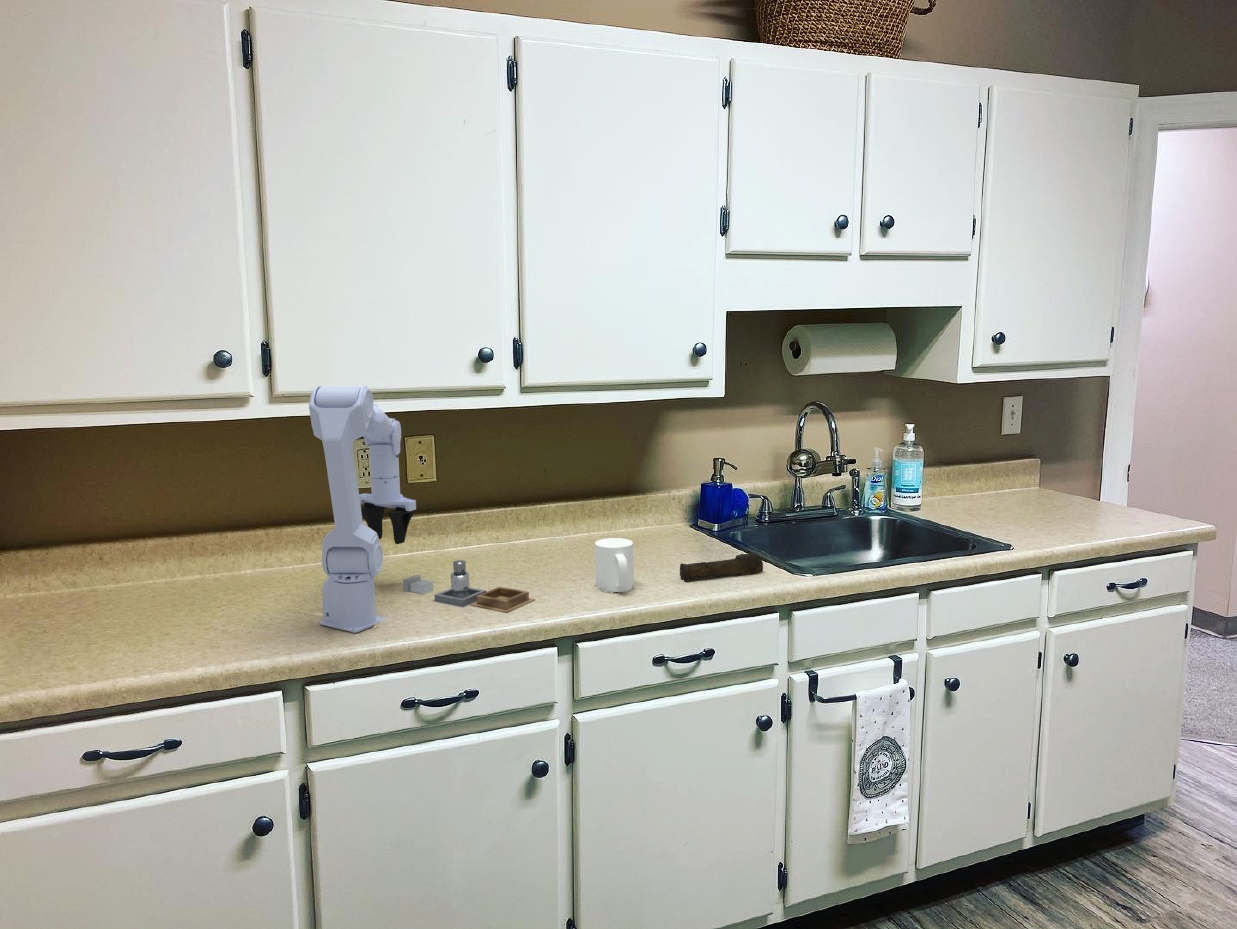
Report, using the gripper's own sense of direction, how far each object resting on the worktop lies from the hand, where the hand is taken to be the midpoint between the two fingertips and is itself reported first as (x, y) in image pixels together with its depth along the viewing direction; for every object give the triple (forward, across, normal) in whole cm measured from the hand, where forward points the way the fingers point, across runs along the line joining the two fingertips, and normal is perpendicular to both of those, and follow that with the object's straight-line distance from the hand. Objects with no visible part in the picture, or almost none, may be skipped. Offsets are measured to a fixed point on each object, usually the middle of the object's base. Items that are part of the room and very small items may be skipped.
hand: (388, 541), depth 198 cm
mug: (+10, -41, -23) cm, 48 cm away
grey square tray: (+10, -19, 0) cm, 21 cm away
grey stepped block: (+10, -8, 0) cm, 13 cm away
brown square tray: (+10, -28, -2) cm, 30 cm away
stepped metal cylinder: (+9, -19, 0) cm, 21 cm away
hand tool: (+10, -56, -42) cm, 71 cm away
